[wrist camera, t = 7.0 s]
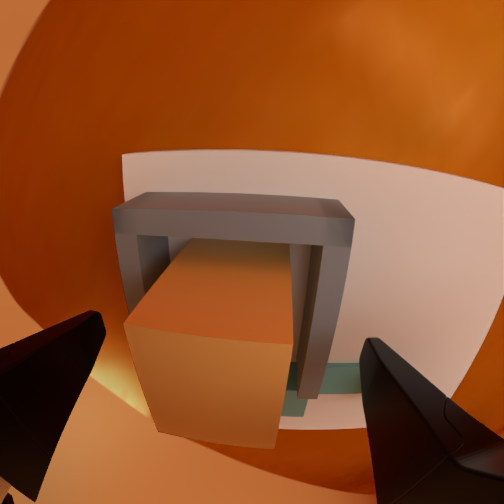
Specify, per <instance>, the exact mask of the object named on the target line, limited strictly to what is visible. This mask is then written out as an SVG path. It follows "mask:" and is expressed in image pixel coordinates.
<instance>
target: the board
mask: <svg viewBox="0 0 504 504" xmlns="http://www.w3.org/2000/svg"><path fill="white" fill-rule="evenodd" d="M122 168H123V185H124V199H125V202H126V201H128V200H130V199H133V198H135V197H137V196H139V195H141V194H143V193H145V192H212V193H243V194H265V195H283V196H299V197H313V198H326V199H337V200H339V201H340V202H341V203H342V204H343V205H344V207H345V208H346V209H347V210H348V211H349V212H350V214H351V215H352V216H353V217H354V218H355V226H354V233H353V240H352V246H351V253H350V259H349V265H348V270H347V276H346V282H345V287H344V292H343V297H342V302H341V307H340V312H339V316H338V321H337V325H336V330H335V334H334V338H333V342H332V346H331V351H330V355H329V358H328V362H327V363H359V357H360V354H361V351H362V348H363V345H364V341H365V339H366V338H368V337H378V338H380V339H381V340H382V341H383V342H385V343H386V344H387V345H388V346H389V347H390V348H392V349H393V350H394V351H395V352H396V353H398V354H399V355H400V356H401V357H402V358H403V359H405V360H406V361H407V362H408V363H409V364H410V365H412V366H413V367H414V368H415V369H416V370H417V371H419V372H420V373H421V374H422V375H423V376H424V377H426V378H427V379H428V380H429V381H430V382H431V383H433V384H434V385H435V386H436V387H437V388H438V389H439V390H441V391H442V392H443V393H444V394H445V395H446V397H449V398H451V397H452V395H453V394H454V392H455V390H456V389H457V387H458V386H459V384H460V382H461V381H462V379H463V378H464V376H465V374H466V372H467V371H468V369H469V367H470V365H471V364H472V362H473V360H474V358H475V356H476V355H477V353H478V351H479V349H480V347H481V345H482V343H483V341H484V339H485V337H486V335H487V333H488V331H489V328H490V326H491V324H492V322H493V320H494V317H495V315H496V313H497V310H498V308H499V305H500V303H501V300H502V298H503V295H504V188H503V187H500V186H497V185H493V184H489V183H486V182H482V181H478V180H474V179H471V178H466V177H462V176H458V175H454V174H449V173H445V172H440V171H436V170H431V169H426V168H420V167H415V166H410V165H404V164H398V163H392V162H386V161H379V160H372V159H364V158H357V157H348V156H339V155H330V154H319V153H307V152H293V151H276V150H250V149H190V150H164V151H147V152H134V153H128V154H122ZM190 240H191V238H189V237H169V236H168V243H169V255H170V264H171V262H172V261H173V260H174V259H175V257H176V256H177V255H178V254H179V253H180V251H181V250H182V249H183V248H184V247H185V246H186V244H187V243H188V242H189V241H190ZM241 241H243V240H241ZM256 242H260V241H256ZM271 243H276V242H271ZM286 244H289V245H290V265H291V287H292V315H293V350H292V356H291V362H296V356H297V350H298V344H299V338H300V331H301V324H302V318H303V311H304V303H305V296H306V288H307V280H308V272H309V264H310V255H311V246H312V245H308V244H292V243H286ZM365 427H366V421H365V415H364V410H363V404H362V393H358V394H319V395H318V398H317V399H308V402H307V405H306V409H305V413H304V416H303V417H288V416H281V418H280V423H279V428H278V429H303V430H323V429H351V428H365Z"/></svg>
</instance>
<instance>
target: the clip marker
mask: <svg viewBox="0 0 504 504" xmlns="http://www.w3.org/2000/svg"><path fill="white" fill-rule="evenodd" d="M358 393H361V380H360V368H359V363H327V366H326V370H325V374H324V377H323V381H322V384H321V388H320V391H319V394H358ZM307 402H308V399H297V364H296V362H291V395H290V400H289V405H288V410H287V415H286V416H288V417H303V416H304V413H305V409H306V405H307Z"/></svg>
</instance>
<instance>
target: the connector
mask: <svg viewBox="0 0 504 504" xmlns="http://www.w3.org/2000/svg"><path fill="white" fill-rule="evenodd" d="M123 326H124V330H125V334H126V338H127V341H128V345H129V349H130V352H131V355H132V359H133V362H134V365H135V369H136V372H137V375H138V378H139V381H140V384H141V387H142V390H143V393H144V396H145V399H146V401H147V404H148V407H149V409H150V412H151V415H152V417H153V420H154V422H155V425H156V427H157V430H158V432H161V433H166V434H170V435H175V436H179V437H184V438H189V439H194V440H199V441H205V442H211V443H218V444H225V445H232V446H241V447H251V448H263V449H274V448H275V443H276V438H277V433H278V428H279V423H280V418H281V413H282V408H283V402H284V397H285V391H286V386H287V380H288V374H289V368H290V362H291V356H292V350H293V315H292V287H291V265H290V245H289V244H286V243H271V242H256V241H241V240H225V239H207V238H191V240H190V241H189V242H188V243H187V244H186V246H185V247H184V248H183V249H182V250H181V251H180V253H179V254H178V255H177V256H176V257H175V259H174V260H173V261H172V262H171V264H170V265H169V266H168V267H167V268H166V270H165V271H164V272H163V273H162V275H161V276H160V277H159V278H158V279H157V281H156V282H155V283H154V284H153V286H152V287H151V288H150V289H149V291H148V292H147V293H146V295H145V296H144V297H143V298H142V300H141V301H140V302H139V303H138V305H137V306H136V307H135V309H134V310H133V311H132V312H131V314H130V315H129V316H128V318H127V319H126V320H125V322H124V323H123Z"/></svg>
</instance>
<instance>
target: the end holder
mask: <svg viewBox="0 0 504 504" xmlns="http://www.w3.org/2000/svg"><path fill="white" fill-rule="evenodd" d="M112 217H113V226H114V234H115V241H116V248H117V254H118V261H119V267H120V272H121V278H122V283H123V288H124V293H125V298H126V303H127V308H128V312H129V315H130V314H131V312H132V311H133V310H134V309H135V307H136V306H137V305H138V303H139V302H140V301H141V300H142V298H143V297H144V296H145V295H146V293H147V292H148V291H149V289H150V288H151V287H152V286H153V284H154V283H155V282H156V281H157V279H158V278H159V277H160V276H161V275H162V273H163V272H164V271H165V270H166V268H167V267H168V266H169V265H170V255H169V243H168V236H169V237H189V238H207V239H225V240H243V241H260V242H276V243H292V244H308V245H312V246H311V255H310V264H309V272H308V280H307V288H306V296H305V303H304V311H303V318H302V324H301V331H300V338H299V344H298V350H297V356H296V364H297V399H317V398H318V395H319V391H320V388H321V384H322V381H323V377H324V374H325V370H326V366H327V362H328V358H329V355H330V351H331V346H332V342H333V338H334V334H335V330H336V325H337V321H338V316H339V312H340V307H341V302H342V297H343V292H344V287H345V282H346V276H347V270H348V265H349V259H350V253H351V246H352V240H353V233H354V226H355V218H354V217H353V216H352V215H351V214H350V212H349V211H348V210H347V209H346V208H345V207H344V205H343V204H342V203H341V202H340V201H339V200H337V199H326V198H313V197H299V196H283V195H265V194H243V193H212V192H145V193H143V194H141V195H139V196H137V197H135V198H133V199H130V200H128V201H126V202H124V203H122V204H120V205H118V206H116V207H114V208H112Z"/></svg>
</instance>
